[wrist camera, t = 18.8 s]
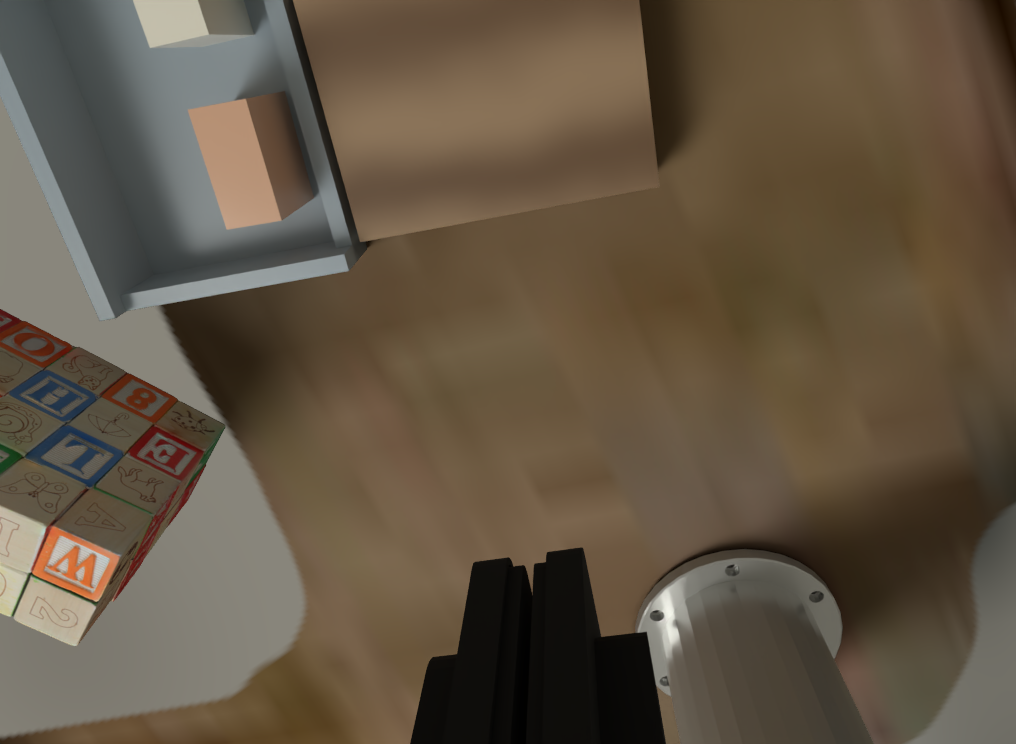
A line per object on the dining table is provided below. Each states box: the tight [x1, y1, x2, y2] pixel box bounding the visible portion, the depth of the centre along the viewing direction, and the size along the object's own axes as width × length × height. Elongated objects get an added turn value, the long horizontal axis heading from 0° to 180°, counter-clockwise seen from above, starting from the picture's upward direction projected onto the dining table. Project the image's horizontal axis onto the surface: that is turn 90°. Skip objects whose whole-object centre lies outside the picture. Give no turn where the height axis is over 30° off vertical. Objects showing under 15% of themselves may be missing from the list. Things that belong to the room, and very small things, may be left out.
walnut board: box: [293, 0, 660, 242], centre depth 32 cm, size 16×14×3 cm
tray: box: [0, 0, 367, 321], centre depth 33 cm, size 18×12×5 cm, turn 11°
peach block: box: [188, 91, 314, 230], centre depth 33 cm, size 5×5×2 cm
